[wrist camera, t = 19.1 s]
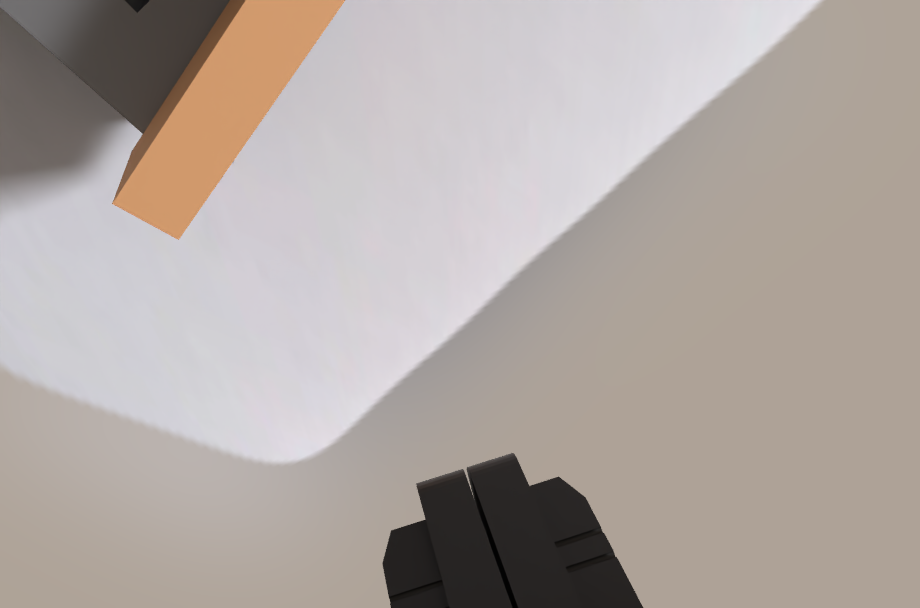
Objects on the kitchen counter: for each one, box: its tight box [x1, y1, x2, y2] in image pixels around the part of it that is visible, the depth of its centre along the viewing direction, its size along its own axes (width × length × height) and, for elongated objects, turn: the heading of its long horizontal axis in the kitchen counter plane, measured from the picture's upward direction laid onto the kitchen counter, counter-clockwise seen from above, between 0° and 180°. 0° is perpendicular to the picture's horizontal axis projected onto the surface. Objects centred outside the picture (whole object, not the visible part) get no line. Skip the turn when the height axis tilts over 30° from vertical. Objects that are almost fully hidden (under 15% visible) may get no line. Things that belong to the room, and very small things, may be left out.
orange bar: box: [112, 0, 345, 240], centre depth 20 cm, size 11×2×4 cm, turn 140°
